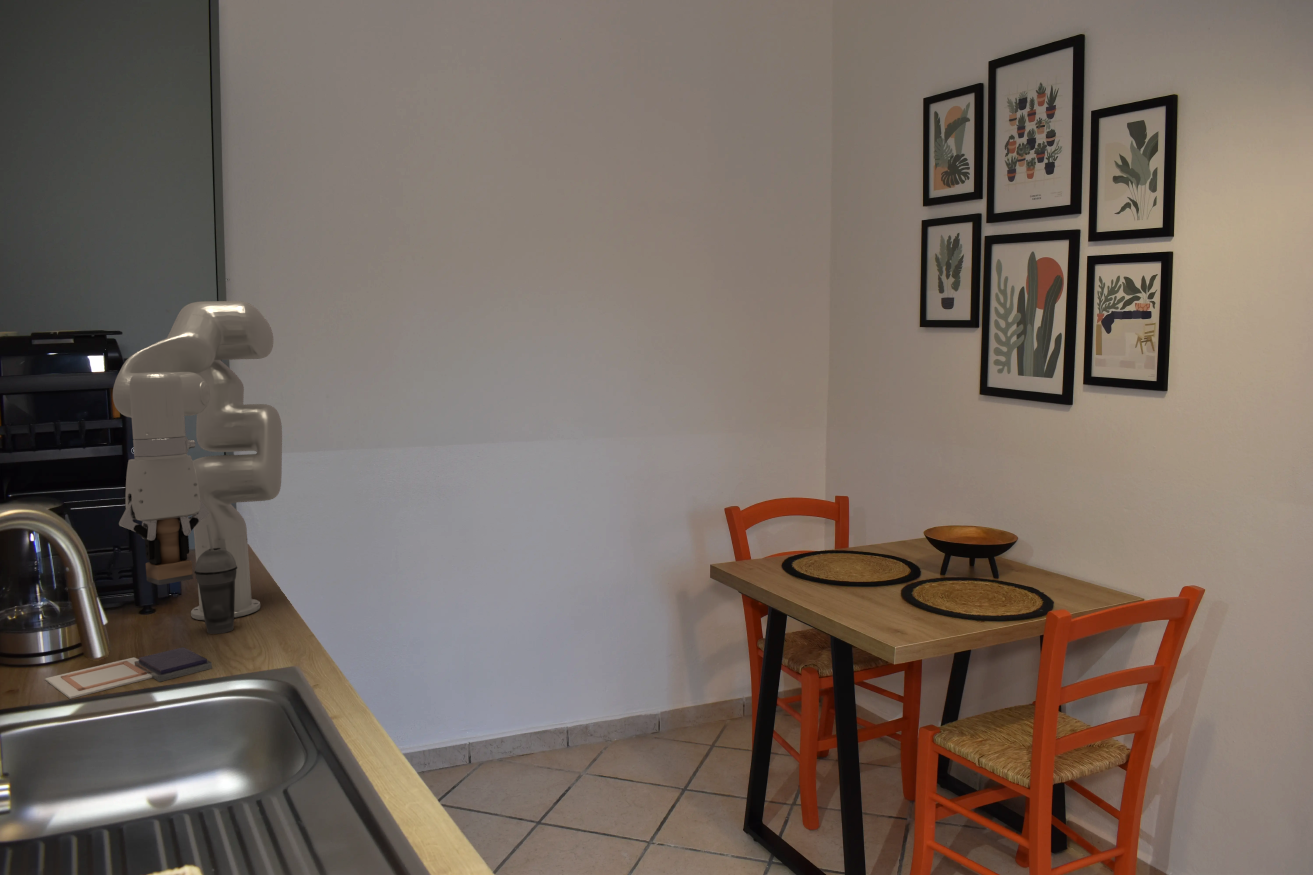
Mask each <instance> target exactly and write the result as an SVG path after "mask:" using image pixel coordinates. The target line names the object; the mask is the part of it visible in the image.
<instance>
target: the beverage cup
mask: <svg viewBox="0 0 1313 875" xmlns="http://www.w3.org/2000/svg"><path fill="white" fill-rule="evenodd" d="M206 526H207V532H208V538H209V544H210V549H208V550H206V551H205V552H203V553H202V554H201V555H200V556H199V558H198V560H197V562H196V561H195V568H194V575H195V579H196V583H197V585H198V584H199V589H200V595H201V601H202V607H203V613H204V619H205V620H204V624H205V627H206V633H207V634H210V635H216V634H217V635H218V634H219V635H220V634H224V633H228V632H231V631H233V630H234V625H235V624H234V623H235V618H234V604H235V579H236V569H237V565H236V561H235V559H234V557H233V555H232V554H231V553H230V552H228V551H227V550H225V549H222V548H213V543H212V537H211V531H210V525H206Z"/></svg>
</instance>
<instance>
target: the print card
mask: <svg viewBox="0 0 1313 875" xmlns="http://www.w3.org/2000/svg"><path fill="white" fill-rule="evenodd" d="M135 661H139V658H136V657H130V658H126V659H122V660H116V661H113V662H109V663H105V664H101V665H97V666H92V667H87V668H84V669H80V670H79V669H77V670H75V671H71V672H66V673H62V674H58V675H54V676H50V677H45V678H44V679H45V681H46V682H47V683H49V684H50V685H51V687H54V688H55V689H56V690H57V691H59V692H60V693H62V694H63V695H64V696H65V697H67V698H68V699H75V698H78V697H83V696H86V695H90V694H95V693H98V692H102V691H105V690H106V691H107V690H110V689H115V688H118V687H121V686H125V685H129V684H134V683H138V682H141V681H145V680H149V679H154V678H153V677H152V675H150V674H148V673H147V672H145V671H143V670H141V669H140V668H138V667H136V666H135Z"/></svg>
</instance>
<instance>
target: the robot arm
mask: <svg viewBox="0 0 1313 875" xmlns="http://www.w3.org/2000/svg"><path fill="white" fill-rule="evenodd" d="M273 347H274V333H273V330H272V327H271V324H270V323H269V322H268V320H267V319H266V318H265V316H264V315H263V314H262V313H261V312H260V311H259V309H258V308H257V307H255V306H254V305H253V304H250V303H248V302H246V301H243V300H242V301H241V300H224V301H223V300H219V301H218V300H217V301H216V300H214V301H212V300H211V301H210V300H209V301H204V300H203V301H195V302H190V303H188V304H186V305H184V306H183V307H182V308H181V310H180V311H179V313H178V314H177V316H176V318H175V320H174V322H173V324H172V327H171V329H170V331H169V333H168V334H167V337H166V338H163V339H161V340H158V341H157V342H155V343H153V344H150V345H148V346H147V347H144V348H143V349H141V350H138V351H136V352H135V353H133V354H131V355H130V356H129V357H128V358H127V359H126V360H125V361H124V363H123V364H122V366H121V368H120V370H119V372H118V374H117V376H116V377H115V382H114V384H113V389H112V399H113V404H114V407H115V409H116V410H117V411H118V412H119V413H120V414H121V415H123V416H124V417H127V418H131V427H132V439H133V440H132V443H133V455H134V458H131V459H128V462H127V468H126V476H125V479H126V480H125V509H124V512H123V514H122V516H121V518H120V519H119V522H118V525H119V527H123V528H125V529H128V530H131V531H132V532H134V533H135V534H137V535H138V536H139V537H141V538H142V539H143V540H144V549H145V558H146V560H148V562H150V563H151V564H155V565H158V564H160V563H161V555H160V542H159V540H157V539H156V523H157V520H163V519H169V518H178V519H179V522H180V528H179V531H178V533H179V548H180V560H188V554H190V543H189V542H190V540H189V536H190V535H191V533H192V531H193V536H194V547H195V550H194V551H195V552H194V553H195V563H196V562H197V560H198V558H199V556H200V555H201V554H202V553H203V552H205V551H206V550H208V549H210V544H209V538H208V532H207V526H206V525H210V531H211V537H212V543H213V548H222V549H225V550H227V551H228V552H230V553H231V554H232V555H233V557H234V559H235V561H236V565H237V569H236V579H235V604H234V619H235V618H240V617H244V616H248V615H250V614H253V613H255V612H257V611H259V610H260V609H261V602H260V600H257V599H255V598H254V599H253V598H252V588H251V573H250V558H249V546H248V545H249V542H248V534H247V533H248V529H247V528H248V527H247V523H246V520H245V519H244V517H243V516H242V514H241V513H240V512H239V511H238V509H236V508H235V507H234V506H233V505H232V504H236V503H249V502H250V503H251V502H254V503H255V502H265V501H271V500H274V499H276V498H277V497H278V495H279V493H280V492H281V488H282V472H283V471H282V469H283V468H282V466H283V464H282V461H283V426H282V419H281V416H280V413H279V412H278V410H277V409H276V408H275V407H274V406H272V405H271V404H267V403H266V404H264V403H249V404H248V403H246V404H244V394H245V393H244V392H245V387H244V383H243V382H242V380H241V379H240V377H239V376H238V375H237V374H236V373H235V372H234V370H232V368H230V367H229V366H228V365H226V364H225V363H224V362H223V361H225V360H226V361H229V360H230V361H232V360H235V361H237V360H260V359H265V358H267V357H268V356H269V355H270V354H271V352H272V351H273ZM190 416H196V426H195V428H196V429H195V435H196V440H197V444H198V446H199V447H200V448H201V449H202V450H204V451H207V452H211V453H212V452H213V453H235V452H253V451H254V452H256V453H251V454H250V453H248V454H223V455H221V454H220V455H209V456H208V455H207V456H203V457H198V458H196V459H194V460H193V459H192V456H191V455H190V454H189V455H188V453H189V450H190V449H194V448H195V447H196V441H195V440H194V439H188V436H187V433H186V432H187V431H186V420H185V419H186V418H185V417H190ZM134 520H137V521H140V522H141V524H139V523H136V522H134ZM197 591H198V593H197V594H198V603H199V605H198V606H195V607H193V608H192V610H191V611H190V615H191V618H192V619H195V620H199V621H205V619H204V613H203V607H202V601H201V595H200V589H199V584H198V583H197Z"/></svg>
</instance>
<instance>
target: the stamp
mask: <svg viewBox="0 0 1313 875" xmlns="http://www.w3.org/2000/svg"><path fill="white" fill-rule="evenodd" d="M179 528H180V522H179V519H178V518H169V519H163V520H157V523H156V539H157V540H159V542H160V555H161V563H160V564H158V565H155V564H151V563H150V562H149V561H148V562H146V563H145V573H146V574H145V576H146V581H147V582H148V583H151V584H154V585H157V586H163V585H168V584H174V583H177V582H179V583H180V582H183V581H189V580H194V574H193V572H194V571H193V562H192V560H189V559H187V560H180V548H179V533H178V531H179Z"/></svg>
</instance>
